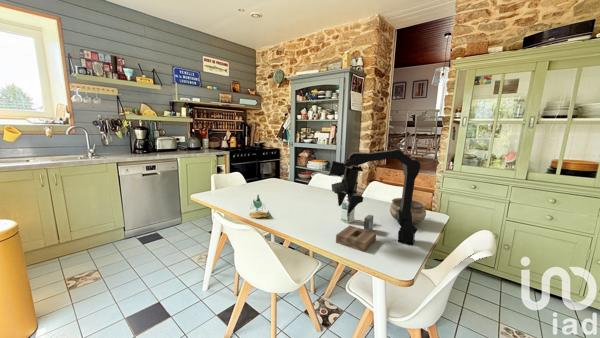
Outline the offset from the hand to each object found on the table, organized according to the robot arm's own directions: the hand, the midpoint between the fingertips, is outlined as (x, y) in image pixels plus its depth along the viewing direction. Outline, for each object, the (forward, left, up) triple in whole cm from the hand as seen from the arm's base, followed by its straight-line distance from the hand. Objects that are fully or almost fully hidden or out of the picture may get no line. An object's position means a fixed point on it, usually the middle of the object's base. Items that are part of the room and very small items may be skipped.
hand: (343, 209), depth 116 cm
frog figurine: (+53, +6, -15) cm, 56 cm away
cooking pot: (-20, -40, -15) cm, 47 cm away
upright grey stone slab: (-7, -15, -14) cm, 22 cm away
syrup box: (+8, -21, -15) cm, 26 cm away
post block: (-7, 0, -14) cm, 16 cm away
